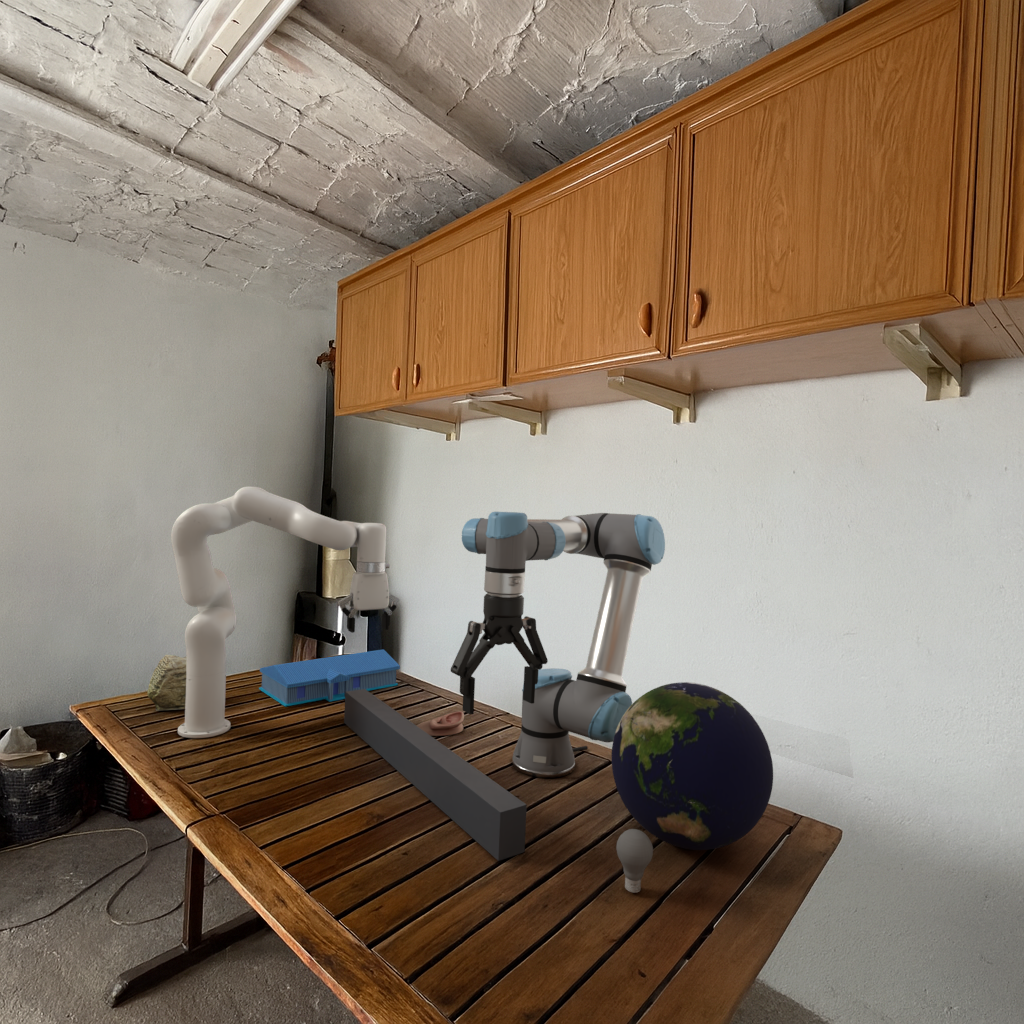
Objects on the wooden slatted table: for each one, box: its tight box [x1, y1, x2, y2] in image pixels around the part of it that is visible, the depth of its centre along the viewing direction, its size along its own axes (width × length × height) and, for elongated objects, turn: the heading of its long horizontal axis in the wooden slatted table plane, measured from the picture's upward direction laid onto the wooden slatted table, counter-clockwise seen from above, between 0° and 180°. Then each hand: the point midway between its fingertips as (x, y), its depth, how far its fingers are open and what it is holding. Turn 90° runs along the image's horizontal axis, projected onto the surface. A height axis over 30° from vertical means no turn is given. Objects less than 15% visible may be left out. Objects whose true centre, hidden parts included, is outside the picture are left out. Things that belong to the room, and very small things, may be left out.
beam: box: [343, 689, 528, 862], centre depth 147 cm, size 79×6×9 cm, turn 35°
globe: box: [610, 681, 774, 851], centre depth 122 cm, size 30×30×30 cm
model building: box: [258, 649, 401, 707], centre depth 208 cm, size 39×24×10 cm, turn 132°
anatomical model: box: [416, 710, 465, 737], centre depth 175 cm, size 13×4×12 cm
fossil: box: [147, 654, 187, 712], centre depth 185 cm, size 9×18×15 cm, turn 132°
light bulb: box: [615, 828, 654, 894], centre depth 106 cm, size 6×6×10 cm
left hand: (368, 630), depth 173 cm, fingers open, 9 cm apart
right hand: (499, 706), depth 119 cm, fingers open, 13 cm apart
